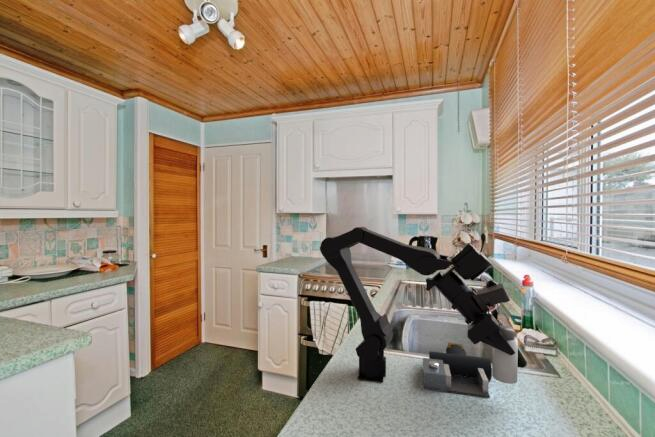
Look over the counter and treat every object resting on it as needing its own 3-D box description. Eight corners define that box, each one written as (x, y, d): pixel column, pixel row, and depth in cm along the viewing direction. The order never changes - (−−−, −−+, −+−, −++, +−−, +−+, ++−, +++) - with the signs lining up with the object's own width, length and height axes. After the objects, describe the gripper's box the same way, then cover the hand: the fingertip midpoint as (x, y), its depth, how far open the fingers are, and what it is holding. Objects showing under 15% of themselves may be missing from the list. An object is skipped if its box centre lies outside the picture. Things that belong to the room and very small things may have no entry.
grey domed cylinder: (495, 381, 67) (496, 331, 66) (489, 370, 71) (490, 323, 71) (520, 385, 65) (521, 333, 65) (513, 373, 70) (513, 325, 70)
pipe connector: (428, 338, 94) (482, 344, 90) (428, 355, 94) (482, 361, 90) (429, 355, 83) (491, 363, 79) (429, 375, 83) (491, 383, 79)
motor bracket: (424, 388, 76) (424, 369, 76) (422, 372, 83) (422, 354, 83) (489, 398, 72) (490, 377, 72) (482, 380, 80) (482, 361, 79)
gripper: (486, 278, 61) (553, 344, 57) (484, 264, 78) (536, 314, 73) (443, 312, 65) (503, 377, 60) (451, 292, 82) (498, 341, 77)
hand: (512, 349), depth 68 cm, fingers closed on grey domed cylinder, 5 cm apart
